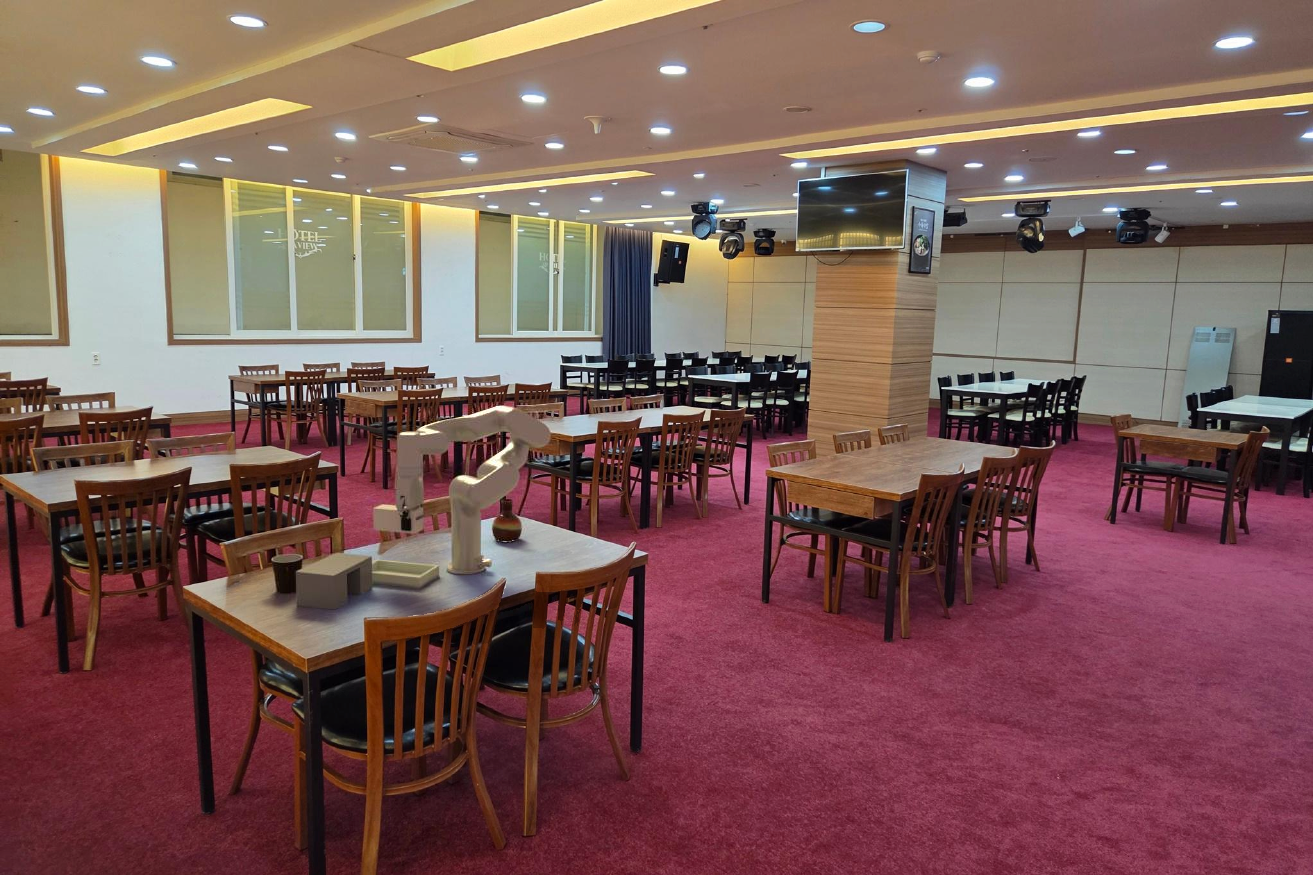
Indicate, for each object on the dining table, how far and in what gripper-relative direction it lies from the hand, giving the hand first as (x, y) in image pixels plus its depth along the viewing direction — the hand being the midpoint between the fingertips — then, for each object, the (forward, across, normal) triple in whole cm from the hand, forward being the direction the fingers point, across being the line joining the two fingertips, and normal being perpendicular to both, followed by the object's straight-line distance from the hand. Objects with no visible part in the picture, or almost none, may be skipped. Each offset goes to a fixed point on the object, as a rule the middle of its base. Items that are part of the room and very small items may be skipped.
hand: (411, 527), depth 260 cm
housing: (+17, +20, -14) cm, 30 cm away
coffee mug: (+17, +21, -30) cm, 40 cm away
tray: (+17, 0, -5) cm, 18 cm away
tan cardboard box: (+1, 0, -4) cm, 4 cm away
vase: (+18, -54, +10) cm, 58 cm away
